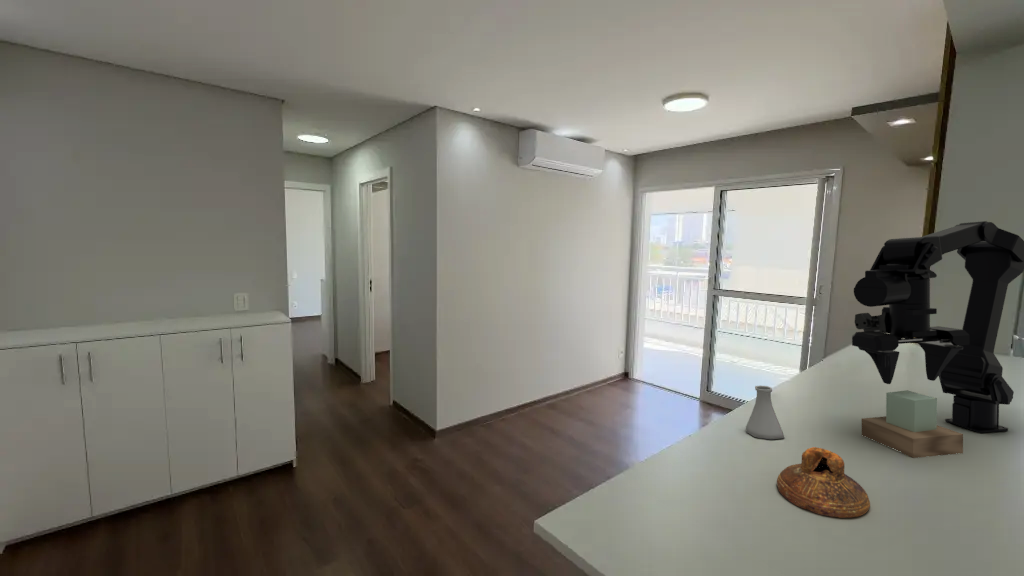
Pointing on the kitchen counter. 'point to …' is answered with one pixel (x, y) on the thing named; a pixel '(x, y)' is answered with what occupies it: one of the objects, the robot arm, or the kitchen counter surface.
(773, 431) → the flask
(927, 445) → the walnut block
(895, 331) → the robot arm
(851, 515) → the brown clay lid
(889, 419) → the sage cube
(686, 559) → the kitchen counter surface
